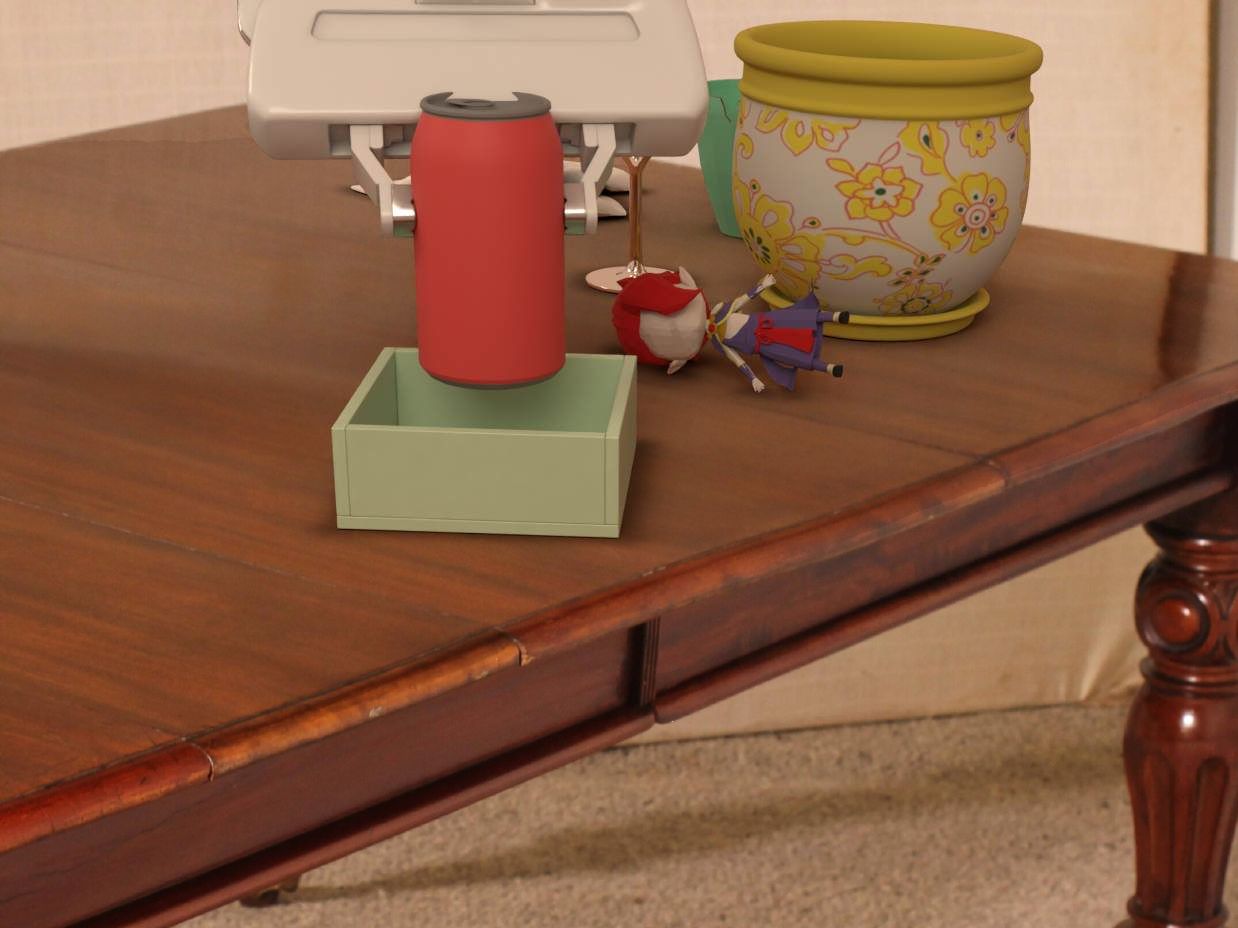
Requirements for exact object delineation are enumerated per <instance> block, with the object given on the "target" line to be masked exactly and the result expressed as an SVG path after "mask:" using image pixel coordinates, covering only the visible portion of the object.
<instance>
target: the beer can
mask: <svg viewBox="0 0 1238 928" xmlns="http://www.w3.org/2000/svg"><path fill="white" fill-rule="evenodd" d="M512 94H514V95H515V96H516V97H517V98H518V100H517V101H490V100H483V99H447V98H448V97H450V96H451V95H453V92H443V93H438V94H433V95H429V96H427V97H424V98H423V99H422V100H421V102H420V108H421V109H422V113H421V116H420V119H419V122H418V125H417V128H416V131H415V134H414V137H413V140H412V146H411V152H410V159H409V167H410V168H409V169H410V175H411V190H412V194H413V205H414V206H415V221H416V228H415V229H414V231H415V235H414V238H412V239H413V255H414V256H413V257H414V261H413V262H414V281H415V283H414V285H415V303H416V305H415V306H416V327H417V348H418V352H419V363H420V365H421V367H422V368H423V369H424V370H425V371H426V372H427V373H428V374H429V375H430V377H432V378H434V379H435V380H438V381H440V382H442V383H444V384H447V385H451V386H456V387H460V388H465V389H476V390H507V389H518V388H523V387H528V386H532V385H536V384H539V383H542V382H544V381H547V380H549V379H551V378H552V377H554V376H555V375H556V374H557V373H558V372H559V371H560V370H561V369H562V368H563V367H564V365H565V362H566V353H567V352H566V271H565V270H566V268H565V263H566V262H565V261H566V260H565V258H566V257H565V235H564V163H563V160H564V158H563V150H562V145H561V141H560V136H559V134H558V131H557V128H556V126H555V123H554V121H553V118H552V116H551V113H550V111H549V110H550V109H551V102H550V101H549V100H548V99H546V98H544V97H542V96H538V95H534V94H529V93H522V92H512Z"/></svg>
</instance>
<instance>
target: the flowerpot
mask: <svg viewBox="0 0 1238 928" xmlns="http://www.w3.org/2000/svg"><path fill="white" fill-rule="evenodd" d="M733 51H734V53H735V55H736V57H737V58H738V59H739V60H740V61H741V62H743V64H742V65H743V67H742V77H741V78H739V79H740V81H739V83H738V89H739V91H740V92H741V102H740V109H739V114H738V120H737V125H736V131H735V138H734V147H733V159H732V193H733V203H734V209H735V214H736V218H737V222H738V225H739V228H740V231H741V234H742V237H743V238H742V239H743V241H744V243H745V246H746V248H747V250H748V252H749V253H750V255H751V256H752V259H753V260H754V262H755V263H756V265H757V266H758V268H759V269H760V270H761V272H762V273H763V274H764V276H763V277H762V278H760V279H759V280H758V282H757V284H756V286H758V285H760V284H761V283H763V281H764V279H765V278H766V276H767V275H768V274H769V276H770V275H771V274H772V277H774V278H773V279H772V280H774V279H776V280H775V281H774V282H776V283H775V284H773V285H771V286H769V287H767V288H766V289H764V290H763V291H762V292H761V293H760V294H759V295H758V296H759V297H760V298H761V299H762V300H763V301H765V302H766V303H768V306H769V309H770V311H773V310H778V309H782V308H785V307H788V306H791V305H793V304H795V303H797V302H799V301H800V300H802V299H804V298H805V297H806V296H807V295H808V294H809V293H810V292H811V291H812V288H811V278H812V281H813V287H814V294H815V296H816V297H817V299H818V301H819V302H820V304H819V306H818V307H817V308H816V309H817V310H820V311H821V312H843V311H849V314H850V317H849V323H847V324H843V323H838V322H823V336H827V337H833V338H838V339H847V340H856V341H869V342H905V341H906V342H908V341H920V340H928V339H929V340H930V339H935V338H941V337H945V336H949V335H953V334H956V333H957V332H960V331H962V330H964V329H966V328H967V327H968V326H970V324H972V322H973V320H974V319H975V316H976V315H977V314H979V313H981V312H982V311H983V310H985V309H986V308H987V307H988V306H989V304H990V299H991V298H990V294H989V292H988V291H987V290H986V289H985V288H984V287H983V286H985V284H986V283H988V281H989V280H991V278H992V277H993V276H994V275H995V274H996V272H997V271H998V270H999V269H1000V267H1001V266H1002V264H1003V263H1004V261H1006V258H1007V257H1008V255H1009V253H1010V251H1011V249H1012V248H1013V246H1014V244H1015V242H1016V240H1017V237H1018V235H1019V232H1020V229H1021V227H1022V224H1023V221H1024V217H1025V213H1026V209H1027V203H1028V197H1029V189H1030V179H1031V162H1032V149H1031V147H1032V145H1031V129H1030V127H1031V126H1030V107H1031V106H1032V105H1033V103H1034V100H1035V96H1034V94H1033V92H1032V91H1031V82H1032V75H1034V74H1035V73H1037V72H1038V71H1039V70H1040V69H1041V67H1042V66H1043V62H1044V51H1043V48H1042V47H1041V46H1040V45H1039V44H1038V43H1036V42H1034V41H1032V40H1030V39H1027V38H1025V37H1020V36H1017V35H1013V34H1009V33H1004V32H999V31H995V30H994V31H993V30H987V29H979V28H973V27H965V26H957V25H947V24H938V23H924V22H909V21H891V20H862V19H861V20H860V19H859V20H858V19H857V20H856V19H853V20H852V19H849V20H848V19H831V20H830V19H826V20H803V21H802V20H799V21H785V22H774V23H767V24H766V23H765V24H759V25H755V26H751V27H748V28H745V29H742V30H741V31H739V32H738V33H736V35H735V36H734V39H733ZM772 277H771V278H772ZM768 278H769V277H768Z"/></svg>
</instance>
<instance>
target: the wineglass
mask: <svg viewBox="0 0 1238 928" xmlns="http://www.w3.org/2000/svg"><path fill="white" fill-rule="evenodd" d="M685 1H686V3H687V4H688V2H687V0H685ZM620 158H621V160H622V161H623V163H624V164H625V166H626V168H627V170H628V174H629V190H628V192H629V199H628V200H629V202H628V203H629V204H628V205H629V209H628V210H629V213H628V215H629V216H628V217H629V220H628V222H629V224H628V225H629V226H628V255H627V264H626V266H624V265H623V266H611V267H605V268H600V269H596V270H593V271H591V272H589V273H587V274H586V276H585V283H586V285H588V286H589V287H591V288H593V289H596V290H599V291H603V292H607V293H608V292H609V293H613V294H619V292H620V291H621V290H622V289H623V288H622V287H621V286H620V285H619V284H618V283H617V281H618V280H621V279H624V278H628V277H634V278H635V277H637V276H640V275H642V274H643V273H663V272H665V271H670V272H671V273H674V272H675V271H673V270H669V269H665V268H659V267H654V266H653V267H651V266H644V263H643V262H644V261H643V247H642V246H643V245H642V241H643V240H642V218H643V217H642V215H643V213H642V212H643V210H642V206H643V205H642V203H643V173H644V170H645V168H646V166H647V164H648V163H649V161H650V160H651V159H652V157H620ZM679 276H680V273H679Z"/></svg>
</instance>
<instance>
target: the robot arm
mask: <svg viewBox="0 0 1238 928" xmlns="http://www.w3.org/2000/svg"><path fill="white" fill-rule="evenodd" d="M686 1H687V0H686ZM686 1H685V0H237V2H236V5H237V7H236V8H237V10H236V11H237V28H238V32H239V34H240V37H241V38H242V40H243V41H244V42H245V44H246V45H247V46H248V47H249V52H248V58H247V59H248V60H247V72H246V107H247V117H248V118H247V119H248V126H249V131H250V136H251V139H252V141H253V143H254V144H255V145H256V146H257V147H258V148H259V149H260V150H261V151H262V152H263V153H264V154H265V155H266V156H267V157H268V158H269V159H272V160H277V161H302V160H303V161H306V160H307V161H310V160H311V161H313V160H314V161H315V160H316V161H317V160H318V161H319V160H321V161H323V160H326V161H327V160H328V161H329V160H351V167H352V169H351V170H352V178H354V180H355V181H356V182H357V185H360V186H361V187H362V189H363V190H364V191H365V192H366V193H365V195H367V196H368V198H369V199H370V200H371V201H372V203H373V204H374V205H375V207H376V208H379V215H380V234H381V239H413V238H414V235H415V231H414V229H415V228H416V221H415V206H414V205H413V194H412V190H411V185H409V184H394V182H393V181H394V180H392V178H391V177H390V175H389V174H388V173H387V171H386V169H385V160H410V152H411V146H412V140H413V137H414V134H415V131H416V128H417V125H418V122H419V119H420V116H421V113H422V109H421V108H420V102H421V100H422V99H423V98H424V97H427V96H429V95H433V94H438V93H443V92H453V95H451V96H450V97H448V98H447V99H483V100H490V101H517V100H518V98H517V97H516V96H515V95H514V94H512V92H522V93H529V94H534V95H538V96H542V97H544V98H546V99H548V100H549V101H550V102H551V109H550V110H549V111H550V113H551V116H552V118H553V121H554V123H555V126H556V128H557V131H558V134H559V136H560V141H561V145H562V150H563V159H565V158H566V159H567V158H579V162H580V164H581V172H583V173H585V174H584V175H583V177H582V179H581V181H580V182H574V183H564V236H596V234H597V228H598V222H599V221H598V220H599V219H598V218H599V217H598V208H597V199H598V197H599V195H601V194H602V192H603V190H604V189H603V188H604V186H605V185H606V183H607V181H608V179H609V178H610V176H611V174H612V170H613V168H614V163H615V158H621V157H651V158H677V157H678V158H679V157H684V156H687V155H688V154H689V153H690V152H692V150H693V149H694V148H695V146H696V145H698V143H697V142H698V141H699V140H700V138H701V136H702V134H703V131H704V127H705V123H706V119H707V113H708V106H709V91H708V83H707V81H708V78H707V73H706V67H705V61H704V57H703V52H702V48H701V45H700V40H699V37H698V33H697V29H696V26H695V23H694V20H693V16H692V13H691V11H690V7H689V6H688V2H687V3H686Z"/></svg>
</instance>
